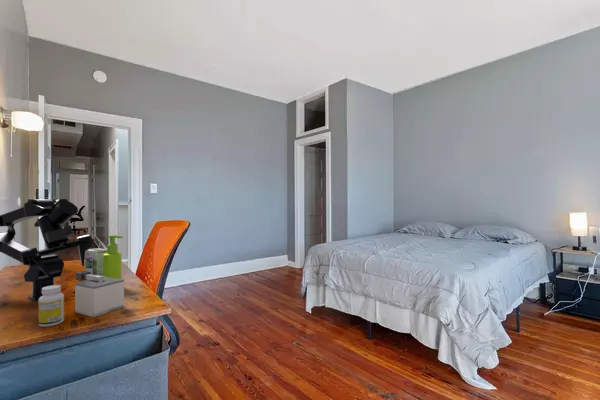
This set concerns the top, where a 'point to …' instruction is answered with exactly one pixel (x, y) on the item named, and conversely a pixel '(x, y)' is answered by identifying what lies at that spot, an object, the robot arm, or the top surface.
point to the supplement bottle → (51, 306)
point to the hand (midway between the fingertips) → (66, 271)
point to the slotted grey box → (99, 296)
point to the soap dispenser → (112, 259)
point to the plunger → (88, 276)
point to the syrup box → (94, 261)
